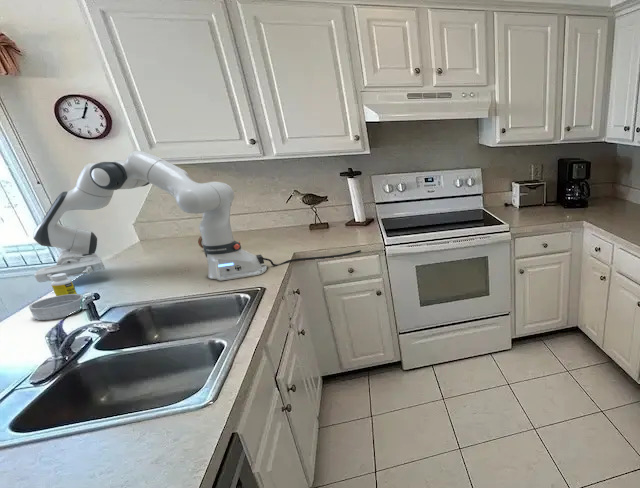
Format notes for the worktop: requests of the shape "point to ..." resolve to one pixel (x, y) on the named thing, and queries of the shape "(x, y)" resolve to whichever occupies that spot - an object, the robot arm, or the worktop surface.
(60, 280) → the supplement bottle
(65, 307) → the grey shallow bowl
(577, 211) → the worktop surface
